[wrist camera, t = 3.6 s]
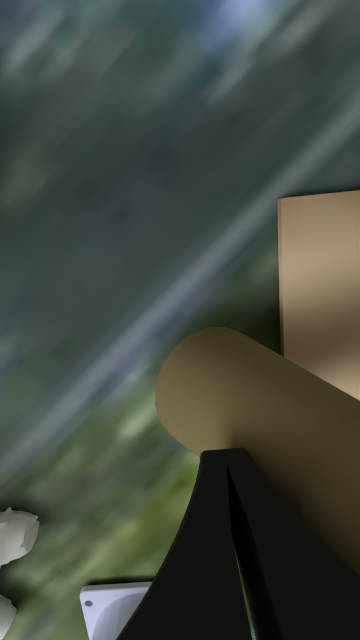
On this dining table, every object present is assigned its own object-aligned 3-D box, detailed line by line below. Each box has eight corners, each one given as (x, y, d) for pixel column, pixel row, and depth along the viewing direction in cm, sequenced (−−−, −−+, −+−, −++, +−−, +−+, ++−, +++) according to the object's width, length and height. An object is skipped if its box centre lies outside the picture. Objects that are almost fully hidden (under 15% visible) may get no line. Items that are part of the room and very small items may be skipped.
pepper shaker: (127, 398, 14) (354, 695, 4) (217, 300, 15) (554, 365, 6) (207, 467, 17) (468, 756, 7) (280, 377, 18) (591, 517, 8)
